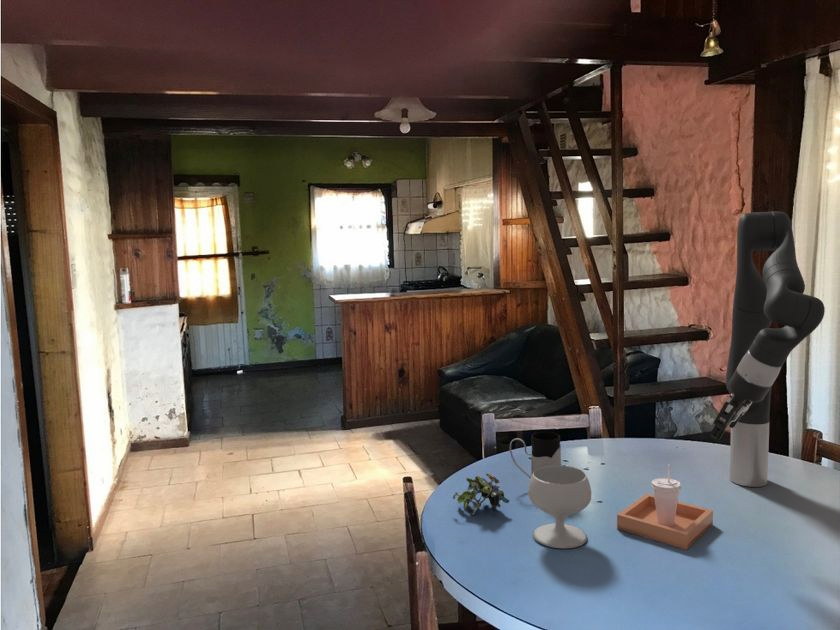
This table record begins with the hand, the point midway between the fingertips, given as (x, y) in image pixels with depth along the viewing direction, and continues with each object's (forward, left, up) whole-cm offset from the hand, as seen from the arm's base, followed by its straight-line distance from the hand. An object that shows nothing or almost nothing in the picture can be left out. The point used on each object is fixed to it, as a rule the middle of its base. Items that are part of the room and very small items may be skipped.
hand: (721, 431), depth 146 cm
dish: (+6, -10, -23) cm, 26 cm away
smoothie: (+6, -10, -22) cm, 25 cm away
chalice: (+26, -26, -23) cm, 44 cm away
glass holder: (+5, -46, -23) cm, 52 cm away
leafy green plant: (+26, -49, -23) cm, 60 cm away
